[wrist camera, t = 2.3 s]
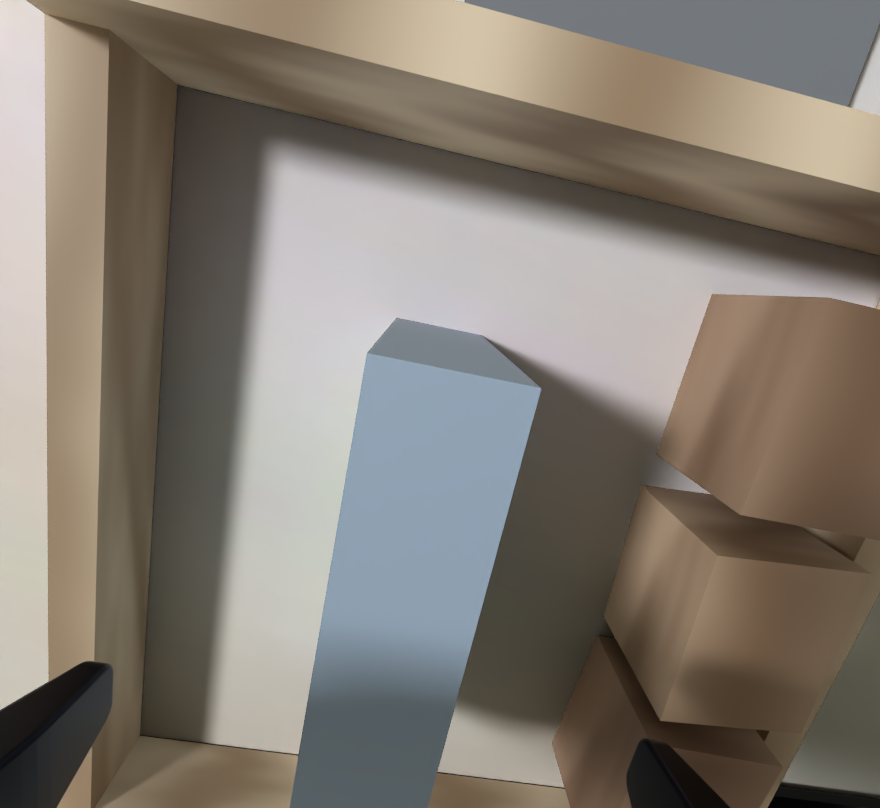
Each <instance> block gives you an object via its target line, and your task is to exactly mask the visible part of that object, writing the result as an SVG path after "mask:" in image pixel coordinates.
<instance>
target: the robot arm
mask: <svg viewBox="0 0 880 808" xmlns="http://www.w3.org/2000/svg"><path fill="white" fill-rule="evenodd" d="M113 676H114V671H113V667H112V665H111V664H108V663H101V662H94V661H85V662H82V663H80V664H78V665H76V666H74V667H73V668H71V669H69V670H68V671H66V672H64V673H62V674H61V675H59V676H57V677H56V678H54V679H52V680H51V681H49V682H47V683H45V684H44V685H42V686H40V687H39V688H37V689H35V690H34V691H32V692H30V693H28V694H27V695H25V696H23V697H22V698H20V699H18V700H17V701H15V702H13V703H11V704H10V705H8V706H6V707H5V708H3V709H1V710H0V808H57V806H58V805H59V803H60V801H61V799H62V798H63V796H64V794H65V792H66V791H67V789H68V787H69V785H70V784H71V782H72V780H73V778H74V777H75V775H76V773H77V771H78V770H79V768H80V766H81V764H82V763H83V761H84V759H85V757H86V756H87V754H88V752H89V750H90V749H91V747H92V745H93V743H94V742H95V740H96V738H97V736H98V735H99V733H100V731H101V729H102V728H103V726H104V724H105V722H106V720H107V718H108V716H109V714H110V711H111V708H112V702H113ZM626 785H627V791H628V795H629V799H630V804H631V808H731V807H730V806H729V805H728V804H727V803H726V802H725V801H724V800H723V799H722V798H721V797H720V796H719V795H718V794H717V793H716V792H715V791H714V790H713V789H712V788H711V787H710V786H709V785H708V784H707V783H706V782H705V781H704V780H703V779H702V778H701V777H700V776H699V775H698V774H697V773H696V772H695V770H694V769H693V768H692V767H691V766H690V765H689V764H688V763H687V762H686V761H685V760H684V759H683V758H682V757H681V756H680V755H679V754H678V753H677V752H676V751H675V750H674V749H673V748H672V747H671V746H670V745H669V744H668V743H666V742H665V741H662V740H657V739H650V738H642V739H641V740H640V741H639V742H638V744H637V747H636V749H635V752H634V754H633V757H632V759H631V762H630V764H629V767H628V769H627V774H626ZM768 808H880V799H872V798H864V797H857V796H849V795H841V794H834V793H826V792H818V791H811V790H803V789H796V788H788V787H780V786H779V787H778V789H777V791H776V793H775V795H774V797H773V798H772V800H771V802H770V804H769V806H768Z"/></svg>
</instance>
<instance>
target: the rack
mask: <svg viewBox="0 0 880 808" xmlns="http://www.w3.org/2000/svg"><path fill="white" fill-rule="evenodd" d="M27 1H28V2H29V3H31V4H32V5H34V6H35V7H36V8H38V9H39V10H41V11H42V12H43V13H45V154H46V319H47V483H48V647H49V681H51V680H52V679H54V678H56V677H57V676H59V675H61V674H62V673H64V672H66V671H68V670H69V669H71V668H73V667H74V666H76V665H78V664H80V663H82V662H85V661H94V662H101V663H108V664H111V665H112V667H113V671H114V676H113V702H112V708H111V711H110V714H109V716H108V718H107V720H106V722H105V724H104V726H103V728H102V729H101V731H100V733H99V735H98V736H97V738H96V740H95V742H94V743H93V745H92V747H91V749H90V750H89V752H88V754H87V756H86V757H85V759H84V761H83V763H82V764H81V766H80V768H79V770H78V771H77V773H76V775H75V777H74V778H73V780H72V782H71V784H70V785H69V787H68V789H67V791H66V792H65V794H64V796H63V798H62V799H61V801H60V803H59V805H58V806H57V808H290V802H291V796H292V790H293V785H294V779H295V773H296V767H297V761H298V756H297V755H289V754H281V753H273V752H265V751H257V750H249V749H241V748H233V747H225V746H217V745H209V744H201V743H193V742H185V741H177V740H169V739H161V738H153V737H145V736H140V727H141V709H142V692H143V674H144V657H145V640H146V622H147V605H148V587H149V570H150V553H151V535H152V518H153V500H154V483H155V465H156V448H157V431H158V413H159V396H160V378H161V361H162V344H163V326H164V309H165V291H166V274H167V257H168V239H169V222H170V204H171V187H172V170H173V152H174V135H175V117H176V100H177V85H181V86H185V87H189V88H193V89H197V90H201V91H205V92H209V93H214V94H218V95H222V96H226V97H230V98H234V99H238V100H242V101H246V102H251V103H255V104H259V105H263V106H267V107H271V108H275V109H279V110H283V111H287V112H292V113H296V114H300V115H304V116H308V117H312V118H316V119H320V120H324V121H329V122H333V123H337V124H341V125H345V126H349V127H353V128H357V129H361V130H366V131H370V132H374V133H378V134H382V135H386V136H390V137H394V138H398V139H403V140H407V141H411V142H415V143H419V144H423V145H427V146H431V147H435V148H440V149H444V150H448V151H452V152H456V153H460V154H464V155H468V156H472V157H477V158H481V159H485V160H489V161H493V162H497V163H501V164H505V165H509V166H513V167H518V168H522V169H526V170H530V171H534V172H538V173H542V174H546V175H550V176H555V177H559V178H563V179H567V180H571V181H575V182H579V183H583V184H587V185H592V186H596V187H600V188H604V189H608V190H612V191H616V192H620V193H624V194H629V195H633V196H637V197H641V198H645V199H649V200H653V201H657V202H661V203H666V204H670V205H674V206H678V207H682V208H686V209H690V210H694V211H698V212H703V213H707V214H711V215H715V216H719V217H723V218H727V219H731V220H735V221H740V222H744V223H748V224H752V225H756V226H760V227H764V228H768V229H772V230H776V231H781V232H785V233H789V234H793V235H797V236H801V237H805V238H809V239H813V240H818V241H822V242H826V243H830V244H834V245H838V246H842V247H846V248H850V249H855V250H859V251H863V252H867V253H871V254H875V255H879V256H880V116H879V115H876V114H872V113H868V112H865V111H861V110H857V109H854V108H850V107H846V106H842V105H839V104H835V103H831V102H828V101H824V100H820V99H817V98H813V97H809V96H806V95H802V94H798V93H795V92H791V91H787V90H784V89H780V88H776V87H773V86H769V85H765V84H762V83H758V82H754V81H751V80H747V79H743V78H740V77H736V76H732V75H729V74H725V73H721V72H718V71H714V70H710V69H707V68H703V67H699V66H696V65H692V64H688V63H685V62H681V61H677V60H674V59H670V58H666V57H663V56H659V55H655V54H652V53H648V52H644V51H641V50H637V49H633V48H630V47H626V46H622V45H619V44H615V43H611V42H608V41H604V40H600V39H596V38H593V37H589V36H585V35H582V34H578V33H574V32H571V31H567V30H563V29H560V28H556V27H552V26H549V25H545V24H541V23H538V22H534V21H530V20H527V19H523V18H519V17H516V16H512V15H508V14H505V13H501V12H497V11H494V10H490V9H486V8H483V7H479V6H475V5H472V4H468V3H464V2H461V1H457V0H27ZM876 309H880V300H879V302H878V304H877V307H876ZM797 526H798V525H797ZM798 527H800V528H801V529H803V530H805V531H806V532H808V533H809V534H811V535H812V536H814V537H815V538H817V539H819V540H820V541H822V542H823V543H825V544H826V545H828V546H829V547H831V548H833V549H834V550H836V551H837V552H839V553H840V554H842V555H843V556H845V557H847V558H848V559H850V560H851V561H853V562H854V563H856V564H857V565H859V566H861V567H862V568H864V569H865V570H867V571H868V572H870V573H871V574H872V576H871V578H870V580H869V583H868V585H867V587H866V589H865V592H864V594H863V596H862V598H861V601H860V603H859V605H858V607H857V610H856V612H855V614H854V616H853V619H852V621H851V623H850V625H849V627H848V630H847V632H846V634H845V636H844V639H843V641H842V643H841V645H840V648H839V650H838V652H837V654H836V657H835V659H834V661H833V663H832V666H831V668H830V670H829V672H828V674H827V677H826V679H825V681H824V683H823V686H822V688H821V690H820V692H819V695H818V697H817V699H816V701H815V704H814V706H813V708H812V710H811V712H810V715H809V717H808V719H807V721H806V724H805V726H804V728H803V730H802V733H801V734H799V733H788V732H777V731H766V730H756V732H757V733H758V734H759V736H760V737H761V738H762V740H763V741H764V742H765V744H766V745H767V746H768V748H769V749H770V750H771V752H772V753H773V754H774V756H775V757H776V759H777V760H778V761H779V763H780V764H781V765H782V767H783V769H782V770H781V772H780V774H779V776H778V777H777V779H776V781H775V782H774V784H773V786H772V787H771V789H770V791H769V793H768V794H767V796H766V798H765V799H764V801H763V803H762V805H761V806H760V808H768V806H769V804H770V802H771V800H772V798H773V797H774V795H775V793H776V791H777V789H778V787H779V785H780V783H781V781H782V779H783V777H784V776H785V774H786V772H787V770H788V768H789V766H790V764H791V762H792V760H793V758H794V756H795V754H796V753H797V751H798V749H799V747H800V745H801V743H802V741H803V739H804V737H805V735H806V733H807V731H808V730H809V728H810V726H811V724H812V722H813V720H814V718H815V716H816V714H817V712H818V710H819V708H820V707H821V705H822V703H823V701H824V699H825V697H826V695H827V693H828V691H829V689H830V687H831V686H832V684H833V682H834V680H835V678H836V676H837V674H838V672H839V670H840V668H841V666H842V664H843V663H844V661H845V659H846V657H847V655H848V653H849V651H850V649H851V647H852V645H853V643H854V641H855V640H856V638H857V636H858V634H859V632H860V630H861V628H862V626H863V624H864V622H865V620H866V619H867V617H868V615H869V613H870V611H871V609H872V607H873V605H874V603H875V601H876V599H877V597H878V596H879V594H880V541H879V540H874V539H868V538H863V537H857V536H852V535H846V534H841V533H836V532H830V531H825V530H819V529H814V528H808V527H803V526H798ZM427 808H570V805H569V802H568V798H567V794H566V791H565V789H562V788H554V787H546V786H538V785H530V784H522V783H514V782H506V781H498V780H490V779H482V778H474V777H466V776H458V775H450V774H442V773H437V774H436V778H435V782H434V785H433V789H432V793H431V796H430V800H429V804H428V807H427Z"/></svg>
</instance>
